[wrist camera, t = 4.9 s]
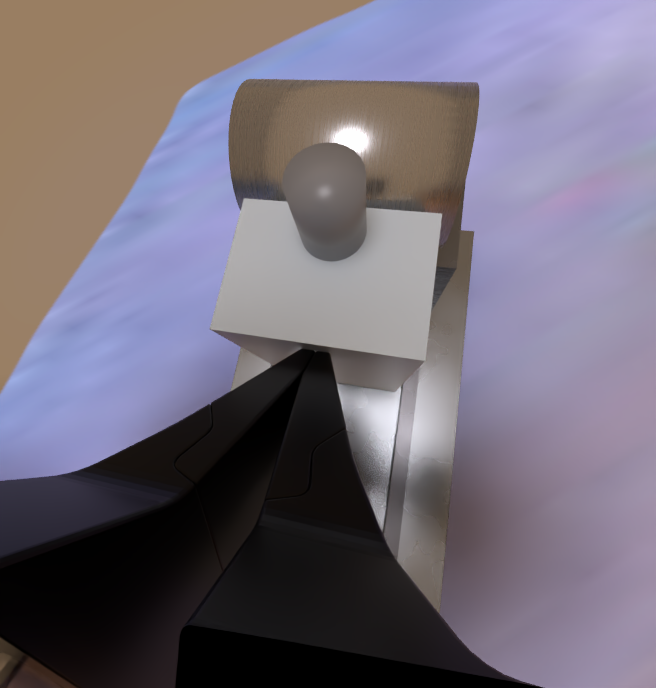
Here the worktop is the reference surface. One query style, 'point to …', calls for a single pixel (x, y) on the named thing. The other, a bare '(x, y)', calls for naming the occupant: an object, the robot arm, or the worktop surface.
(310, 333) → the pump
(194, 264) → the worktop surface
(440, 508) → the base
